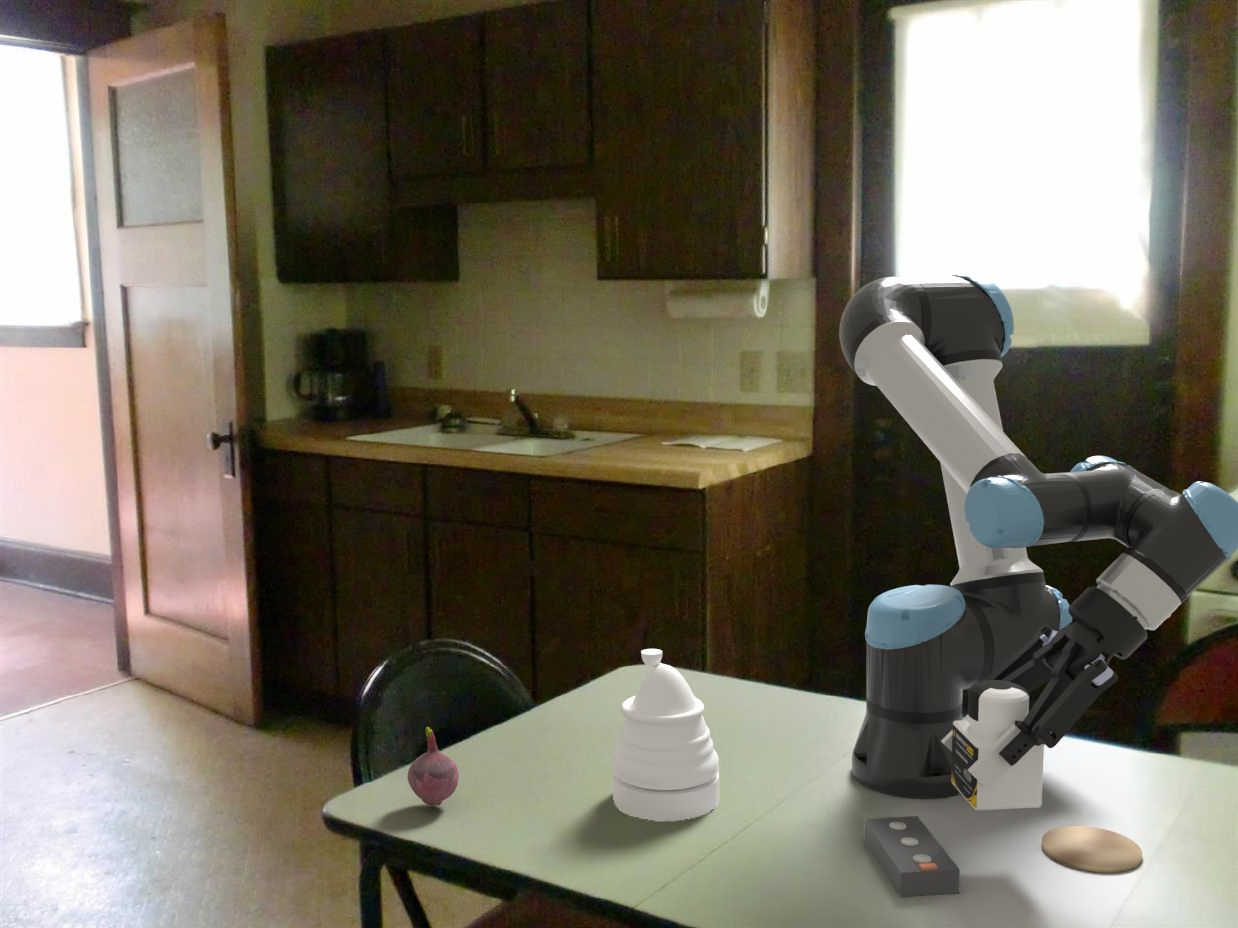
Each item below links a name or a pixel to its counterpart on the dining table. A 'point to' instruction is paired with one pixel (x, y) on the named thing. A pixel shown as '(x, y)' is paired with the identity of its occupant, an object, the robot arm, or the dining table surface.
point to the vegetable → (433, 774)
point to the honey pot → (665, 750)
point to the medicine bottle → (987, 722)
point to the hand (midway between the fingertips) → (963, 764)
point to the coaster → (1091, 849)
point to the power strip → (911, 856)
